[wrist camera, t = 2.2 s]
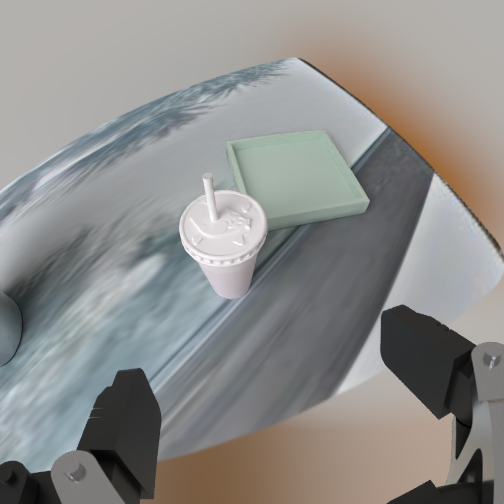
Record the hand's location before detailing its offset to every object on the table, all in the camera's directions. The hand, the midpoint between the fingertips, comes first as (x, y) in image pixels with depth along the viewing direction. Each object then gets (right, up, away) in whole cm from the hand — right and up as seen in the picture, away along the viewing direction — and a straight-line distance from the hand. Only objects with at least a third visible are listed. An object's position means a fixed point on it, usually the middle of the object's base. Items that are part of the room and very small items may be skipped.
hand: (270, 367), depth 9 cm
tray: (+4, +13, +28) cm, 31 cm away
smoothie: (-3, +1, +21) cm, 21 cm away
